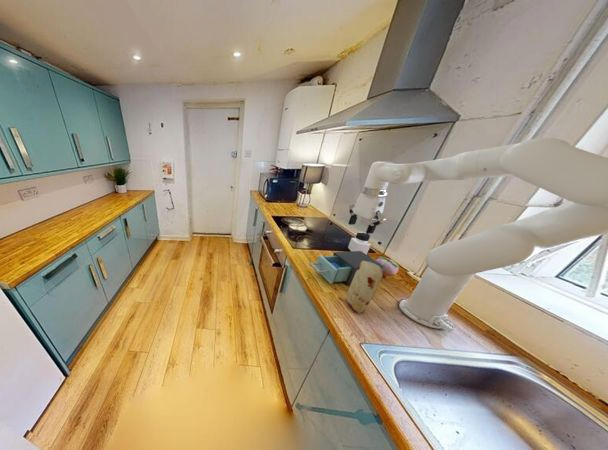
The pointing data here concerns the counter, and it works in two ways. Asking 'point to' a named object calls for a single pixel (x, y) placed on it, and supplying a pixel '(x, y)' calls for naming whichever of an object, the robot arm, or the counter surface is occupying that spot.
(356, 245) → the medicine bottle
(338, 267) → the blue cube
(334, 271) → the teal drawer
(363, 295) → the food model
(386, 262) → the decorative fruit
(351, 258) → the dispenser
